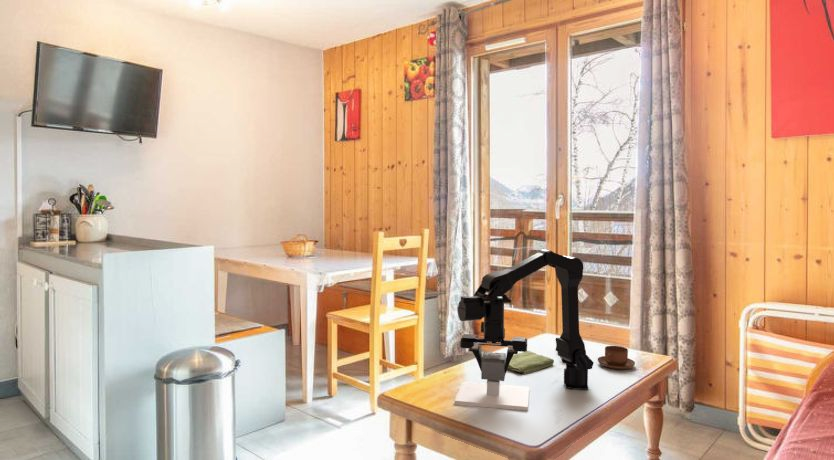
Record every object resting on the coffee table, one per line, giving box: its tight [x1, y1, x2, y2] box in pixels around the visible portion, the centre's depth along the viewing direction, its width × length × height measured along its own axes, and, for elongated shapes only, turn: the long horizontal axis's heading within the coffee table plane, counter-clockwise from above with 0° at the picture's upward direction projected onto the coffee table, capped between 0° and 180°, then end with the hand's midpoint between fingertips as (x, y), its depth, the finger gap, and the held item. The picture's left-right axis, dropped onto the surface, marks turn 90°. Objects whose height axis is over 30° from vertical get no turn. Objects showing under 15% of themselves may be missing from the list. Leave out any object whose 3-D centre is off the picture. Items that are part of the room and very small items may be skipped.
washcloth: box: [507, 350, 555, 375], centre depth 185 cm, size 13×18×3 cm
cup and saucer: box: [597, 345, 636, 370], centre depth 184 cm, size 12×12×6 cm
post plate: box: [454, 380, 530, 411], centre depth 156 cm, size 20×16×5 cm
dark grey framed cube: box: [480, 351, 507, 382], centre depth 155 cm, size 6×6×6 cm
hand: (493, 372), depth 155 cm, fingers closed on dark grey framed cube, 6 cm apart
